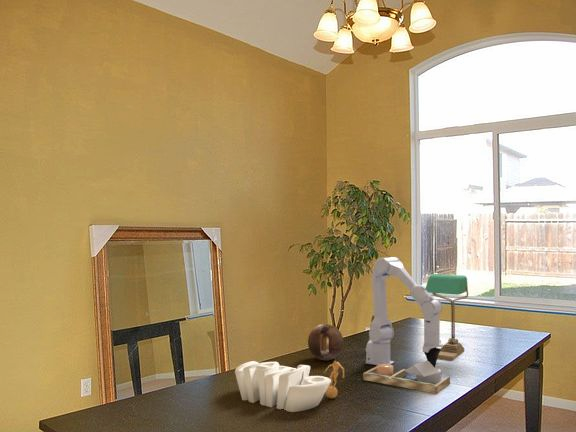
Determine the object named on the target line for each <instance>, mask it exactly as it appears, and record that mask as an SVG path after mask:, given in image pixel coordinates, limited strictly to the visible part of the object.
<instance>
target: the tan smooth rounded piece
mask: <svg viewBox="0 0 576 432" xmlns="http://www.w3.org/2000/svg"><path fill="white" fill-rule="evenodd" d="M376 366H377V374H380V375H385V376H389V377H390V376H392V375H394V365H393V364H378V365H376Z"/></svg>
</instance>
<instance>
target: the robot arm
mask: <svg viewBox="0 0 576 432" xmlns="http://www.w3.org/2000/svg"><path fill="white" fill-rule="evenodd" d="M390 276H395V277H397V278H398V279H399V281H400V282H402V283H403V284H404V285H405V286H406V287H407V289H409V291H410V293H409V294H410V296H411V297H412V298H413V300H415V301H416V303H417V304H418V306H420V311H421V313H422V315H423V340H424V341H423V346H422V353H424V355H425V357H426V361H429V362H430V363H431V364H432V365H433V367H435V368H436V366H437V361H438V359H437V358H438V355H439V353H440V351H441V349H440V348H441V347H442V346H443V345H444V343H442V340H440V339H441V337H440V336H441V335H440V331H441V330H440V322H441V321H440V318H441V317H440V314H441V313H442V311H443V305H442V303H441V301H440V300H439V299H437V298H434V297H435V296H434V295H431V293H428V292H427V291H426V290H425V289H426V286H425V285H422V284H417V283H416V281H415V280H414V279H413V277H412V276H411V275H410V273H409V272H408V271H407V270H406V268H405V267H404V264H403V262H401V261H400V259H399V258H398V257H397V256H391V257H379V258H378V259H376V260H375V261H374V262H373V270H372V274H371V285H372V286H371V287H372V302H373V303H372V304H373V316H374V319H373V321H372V322H371V321H370V324H369V325H370V326H369V327H370V328H369V331H368V336H369V339H371V340H372V341H369V340H368V341H367V343H366V348H365V349H366V351H365V353H366V354H365V356H366V357H365V358H366V359H365V362H364V363H365V364H367V365H375V366H377V365H378V364H390V365H393V364H394V363H395V361H393V360H391V342H392V338H393V337H394V334H395V332H394V328H393V325H392V320H390V319H389V318H388V305H387V304H388V301H387V288H386V287H387V286H386V281H387V279H388V278H389V277H390Z"/></svg>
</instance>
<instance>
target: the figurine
mask: <svg viewBox="0 0 576 432" xmlns="http://www.w3.org/2000/svg"><path fill="white" fill-rule="evenodd" d="M330 367H332V369H333V370H332V371H331V373H330V375H329V377H328V378H329V379H330V380H331V383H330V385H329V386H328V388H327V390H326V392H325V395H326V397H327V398H329V399H335V398H336V397H337V396H338V394H339V393H338V389H337V387H336V384H337V379H338V376H339V372H338V371H339V370H340V369H341V370H342V379H345V368H344V367H343V366H342V365H341V363H340V362H339V361H336V360H334V361H333V362H332V364H329V365H328V366H327V368H325V370H324V374H326V372H327V370H329V368H330Z"/></svg>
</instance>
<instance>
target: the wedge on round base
mask: <svg viewBox="0 0 576 432" xmlns="http://www.w3.org/2000/svg"><path fill="white" fill-rule="evenodd" d="M405 372H406V373H410V374H413V375H415V379H416V381H419V382H425V383H431V384H434V383H439V382H440V381H441V380H442V369H440V368H437V367H436V366H435V367H433V365H432V364H431V363H430V362H429V361H427V360H426V361H422V362H419V363H415V364H412V365H410V366H409V367H408V368H406V370H405Z"/></svg>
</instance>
